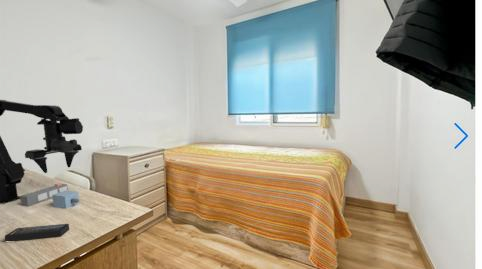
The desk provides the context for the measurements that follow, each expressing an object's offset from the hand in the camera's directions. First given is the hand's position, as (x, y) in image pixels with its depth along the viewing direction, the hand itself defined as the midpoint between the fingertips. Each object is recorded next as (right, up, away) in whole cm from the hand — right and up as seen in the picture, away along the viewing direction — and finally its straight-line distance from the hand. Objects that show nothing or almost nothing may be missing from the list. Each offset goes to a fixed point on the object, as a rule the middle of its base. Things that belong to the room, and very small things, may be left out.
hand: (57, 169), depth 93 cm
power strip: (-4, -12, -1) cm, 13 cm away
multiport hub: (+19, -16, -29) cm, 38 cm away
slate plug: (+10, -13, -8) cm, 18 cm away
